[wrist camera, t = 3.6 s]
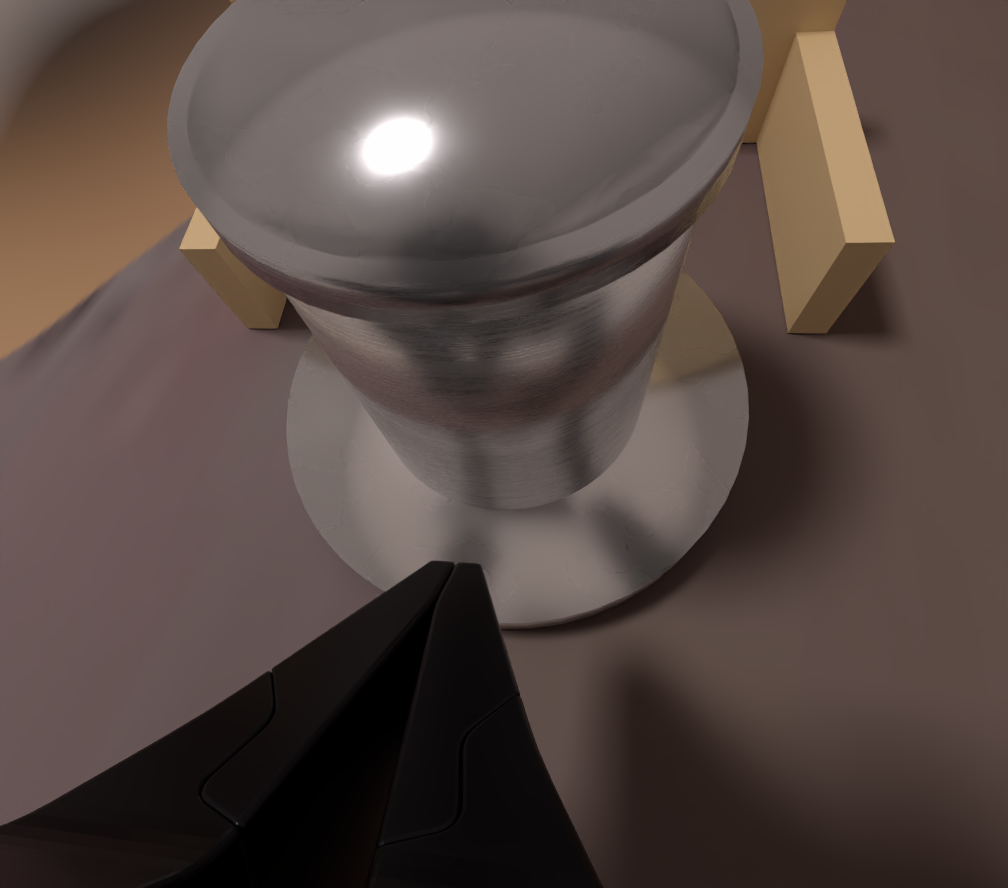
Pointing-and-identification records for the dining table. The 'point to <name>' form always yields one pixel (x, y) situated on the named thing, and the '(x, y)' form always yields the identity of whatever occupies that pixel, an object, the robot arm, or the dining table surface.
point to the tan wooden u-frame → (785, 172)
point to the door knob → (488, 273)
